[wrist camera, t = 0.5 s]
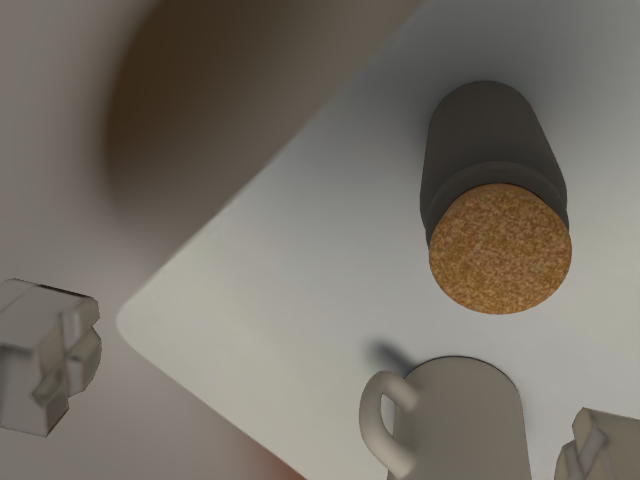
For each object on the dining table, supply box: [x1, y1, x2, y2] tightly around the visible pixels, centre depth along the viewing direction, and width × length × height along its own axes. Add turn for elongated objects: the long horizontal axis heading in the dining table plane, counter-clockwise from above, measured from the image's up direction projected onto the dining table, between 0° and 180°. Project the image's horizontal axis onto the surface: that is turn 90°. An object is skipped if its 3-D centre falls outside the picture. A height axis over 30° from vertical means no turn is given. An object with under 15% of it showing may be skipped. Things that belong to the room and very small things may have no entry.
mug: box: [359, 357, 532, 480], centre depth 37 cm, size 12×8×11 cm
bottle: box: [420, 81, 572, 315], centre depth 27 cm, size 6×6×15 cm
